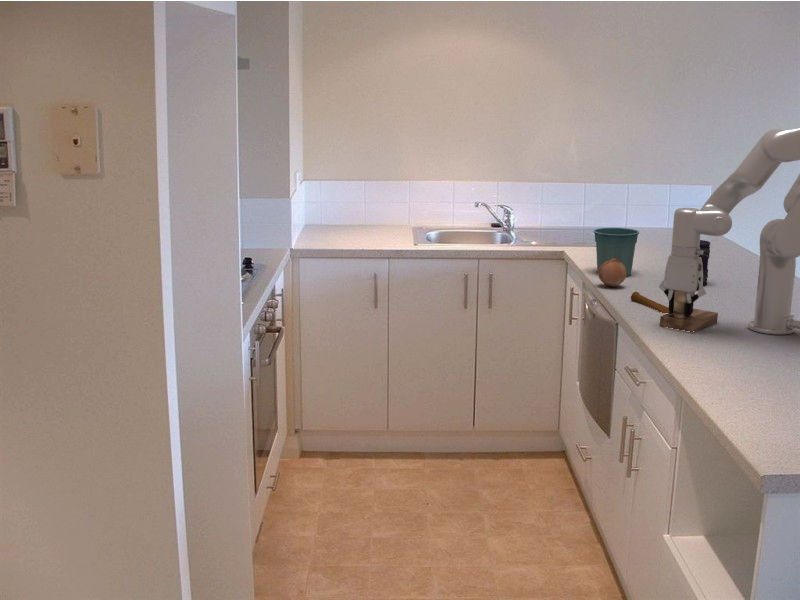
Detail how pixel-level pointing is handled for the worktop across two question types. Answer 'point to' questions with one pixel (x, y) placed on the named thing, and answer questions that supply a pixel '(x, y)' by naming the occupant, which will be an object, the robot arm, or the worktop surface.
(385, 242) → the worktop surface
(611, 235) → the flower pot
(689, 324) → the board
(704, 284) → the storage jar
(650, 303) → the primitive tool
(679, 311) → the peg
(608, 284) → the onion
